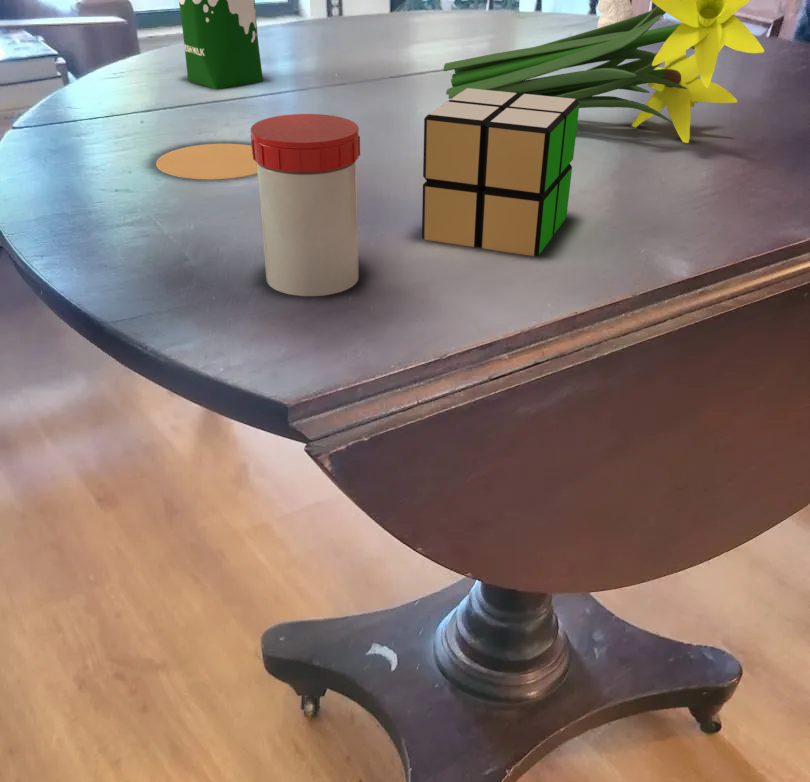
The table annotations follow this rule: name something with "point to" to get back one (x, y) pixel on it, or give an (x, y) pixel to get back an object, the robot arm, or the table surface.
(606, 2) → the koala figurine
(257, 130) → the lid
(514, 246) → the puzzle cube
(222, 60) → the milk carton
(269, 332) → the table surface
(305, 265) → the jar
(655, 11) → the daffodil flowers
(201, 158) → the coaster
